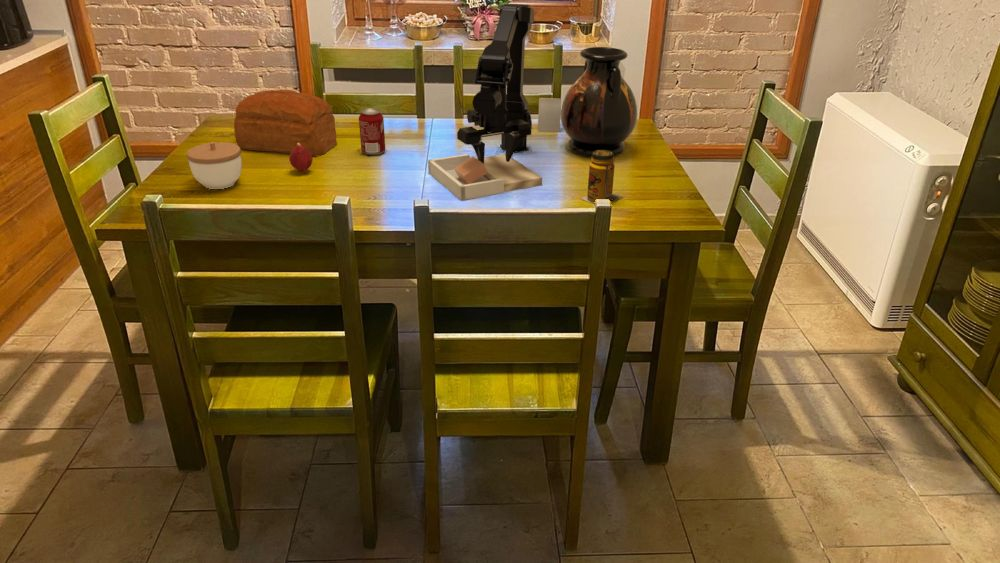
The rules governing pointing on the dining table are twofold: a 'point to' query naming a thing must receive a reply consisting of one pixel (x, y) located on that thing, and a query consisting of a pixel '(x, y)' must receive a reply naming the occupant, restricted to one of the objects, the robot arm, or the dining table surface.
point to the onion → (300, 158)
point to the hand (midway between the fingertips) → (494, 163)
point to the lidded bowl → (215, 164)
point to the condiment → (601, 177)
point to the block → (471, 170)
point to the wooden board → (510, 173)
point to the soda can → (372, 131)
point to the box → (449, 178)
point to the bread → (284, 122)
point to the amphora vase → (599, 105)
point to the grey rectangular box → (549, 115)
